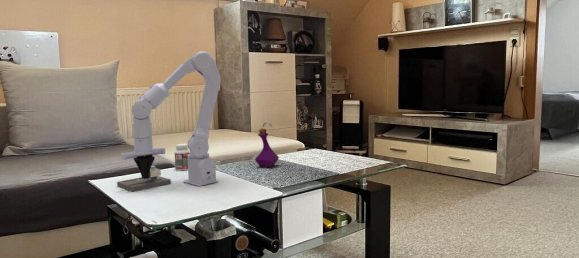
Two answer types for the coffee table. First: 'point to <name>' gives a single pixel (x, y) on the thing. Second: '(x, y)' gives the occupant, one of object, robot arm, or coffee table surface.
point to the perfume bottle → (266, 151)
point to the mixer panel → (143, 183)
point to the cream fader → (154, 173)
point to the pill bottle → (181, 157)
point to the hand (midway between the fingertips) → (145, 178)
